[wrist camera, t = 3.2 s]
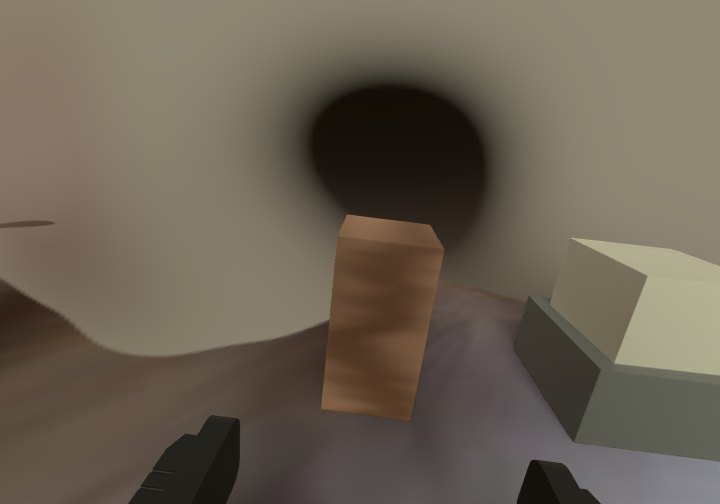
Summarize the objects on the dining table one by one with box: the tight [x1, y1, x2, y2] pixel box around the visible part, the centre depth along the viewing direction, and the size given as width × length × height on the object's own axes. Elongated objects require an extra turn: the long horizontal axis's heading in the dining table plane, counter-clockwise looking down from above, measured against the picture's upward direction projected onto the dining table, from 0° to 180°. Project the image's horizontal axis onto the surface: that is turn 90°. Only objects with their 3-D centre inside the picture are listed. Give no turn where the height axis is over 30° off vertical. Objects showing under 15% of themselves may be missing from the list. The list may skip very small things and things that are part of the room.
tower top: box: [550, 238, 720, 375], centre depth 21 cm, size 7×7×5 cm
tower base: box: [514, 296, 720, 461], centre depth 23 cm, size 9×9×5 cm
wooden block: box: [321, 215, 444, 421], centre depth 20 cm, size 5×5×10 cm
